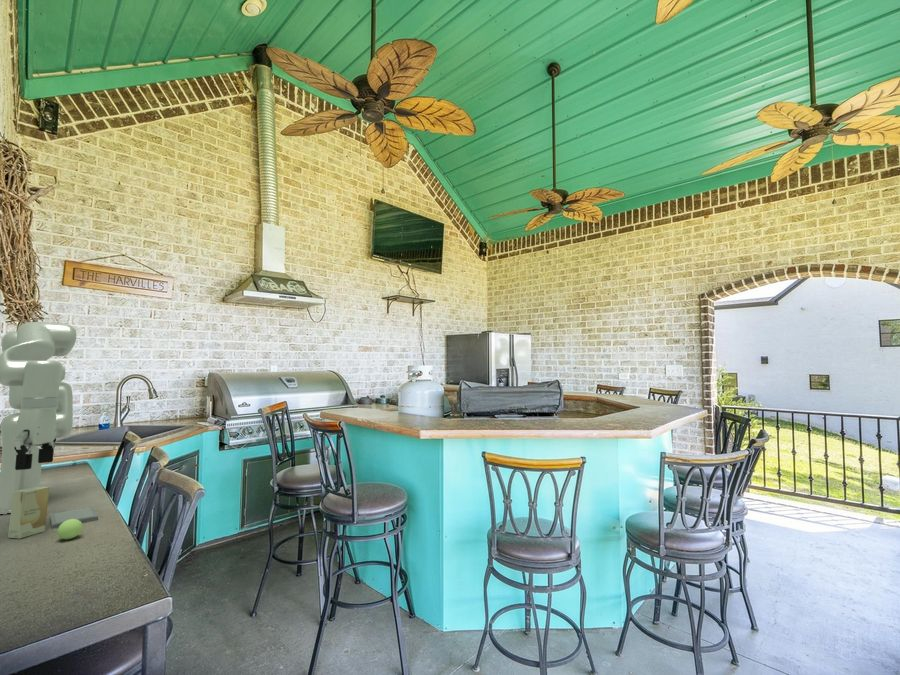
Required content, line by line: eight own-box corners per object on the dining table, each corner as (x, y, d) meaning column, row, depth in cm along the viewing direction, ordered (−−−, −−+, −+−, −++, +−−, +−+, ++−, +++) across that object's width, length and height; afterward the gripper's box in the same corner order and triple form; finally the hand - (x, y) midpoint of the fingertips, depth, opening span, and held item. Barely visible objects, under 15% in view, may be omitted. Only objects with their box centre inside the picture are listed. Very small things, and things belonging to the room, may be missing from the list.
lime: (63, 536, 113) (64, 517, 113) (85, 534, 114) (86, 515, 115) (52, 543, 108) (53, 523, 109) (75, 541, 110) (77, 521, 110)
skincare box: (19, 539, 111) (23, 492, 112) (6, 538, 112) (11, 491, 113) (46, 530, 118) (50, 486, 119) (34, 529, 118) (38, 485, 120)
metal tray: (49, 517, 129) (50, 513, 129) (92, 509, 136) (92, 506, 136) (52, 528, 119) (52, 524, 119) (97, 519, 126) (98, 515, 127)
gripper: (42, 402, 125) (37, 461, 124) (1, 406, 109) (-5, 473, 107) (72, 402, 128) (68, 459, 126) (37, 405, 111) (31, 471, 110)
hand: (34, 465), depth 117 cm, fingers open, 9 cm apart
